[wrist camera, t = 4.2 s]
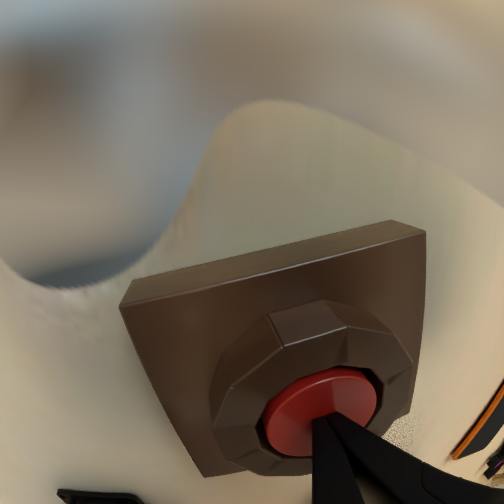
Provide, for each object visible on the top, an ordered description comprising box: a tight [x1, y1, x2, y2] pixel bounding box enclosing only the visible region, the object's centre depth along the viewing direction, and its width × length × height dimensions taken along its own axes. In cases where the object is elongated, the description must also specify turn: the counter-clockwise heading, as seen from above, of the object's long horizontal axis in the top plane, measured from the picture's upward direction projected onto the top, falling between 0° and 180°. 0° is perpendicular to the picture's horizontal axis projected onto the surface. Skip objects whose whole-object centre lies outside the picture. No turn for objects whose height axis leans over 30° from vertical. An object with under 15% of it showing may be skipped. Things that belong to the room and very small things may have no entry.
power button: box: [261, 365, 376, 456], centre depth 9 cm, size 4×4×2 cm
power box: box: [119, 220, 426, 478], centre depth 10 cm, size 10×9×4 cm
